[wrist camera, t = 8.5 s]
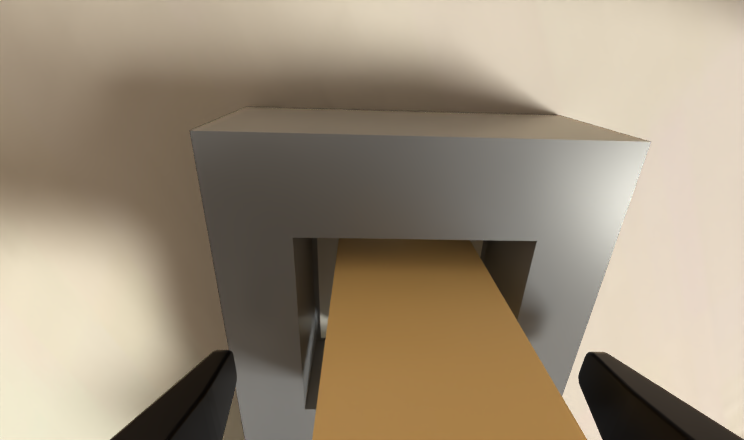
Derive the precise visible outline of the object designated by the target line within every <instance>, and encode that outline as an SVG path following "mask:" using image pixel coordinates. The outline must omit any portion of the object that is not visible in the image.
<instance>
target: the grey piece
mask: <svg viewBox="0 0 744 440" xmlns="http://www.w3.org/2000/svg"><path fill="white" fill-rule="evenodd" d="M190 135H191V141H192V146H193V152H194V158H195V163H196V169H197V174H198V180H199V185H200V191H201V197H202V202H203V208H204V213H205V219H206V225H207V230H208V236H209V241H210V247H211V252H212V258H213V264H214V269H215V275H216V280H217V286H218V292H219V297H220V303H221V308H222V314H223V319H224V325H225V331H226V336H227V342H228V347H229V350H230V351H232V352H233V355H234V360H235V366H236V372H237V382H236V392H237V398H238V403H239V409H240V414H241V420H242V426H243V431H244V437H245V440H312V437H313V430H314V422H315V415H316V407H317V400H318V392H319V384H320V377H321V369H322V362H323V354H324V347H325V339H326V332H327V324H328V316H329V309H330V301H331V294H332V286H333V279H334V271H335V264H336V256H337V249H338V241H339V238H360V239H428V240H470V241H471V243H472V245H473V246H474V248H475V250H476V251H477V253H478V255H479V257H480V258H481V260H482V262H483V263H484V265H485V267H486V268H487V270H488V272H489V274H490V275H491V277H492V279H493V280H494V282H495V284H496V285H497V287H498V289H499V291H500V292H501V294H502V296H503V297H504V299H505V301H506V302H507V304H508V306H509V308H510V309H511V311H512V313H513V314H514V316H515V318H516V319H517V321H518V323H519V325H520V326H521V328H522V330H523V331H524V333H525V335H526V337H527V338H528V340H529V342H530V343H531V345H532V347H533V348H534V350H535V352H536V354H537V355H538V357H539V359H540V360H541V362H542V364H543V365H544V367H545V369H546V371H547V372H548V374H549V376H550V377H551V379H552V381H553V382H554V384H555V386H556V388H557V389H558V391H559V393H560V394H561V396H562V395H563V392H564V389H565V386H566V383H567V381H568V378H569V375H570V372H571V369H572V366H573V363H574V361H575V358H576V355H577V352H578V349H579V346H580V343H581V341H582V338H583V335H584V332H585V329H586V326H587V324H588V321H589V318H590V315H591V312H592V309H593V306H594V304H595V301H596V298H597V295H598V292H599V289H600V286H601V284H602V281H603V278H604V275H605V272H606V269H607V266H608V264H609V261H610V258H611V255H612V252H613V249H614V246H615V244H616V241H617V238H618V235H619V232H620V229H621V226H622V224H623V221H624V218H625V215H626V212H627V209H628V206H629V204H630V201H631V198H632V195H633V192H634V189H635V186H636V184H637V181H638V178H639V175H640V172H641V169H642V167H643V164H644V161H645V158H646V155H647V152H648V149H649V147H650V144H651V142H650V141H647V140H643V139H640V138H636V137H633V136H630V135H626V134H623V133H619V132H616V131H612V130H609V129H605V128H602V127H599V126H595V125H592V124H588V123H585V122H581V121H578V120H575V119H571V118H568V117H564V116H561V115H532V114H495V113H457V112H420V111H382V110H345V109H307V108H270V107H245V108H242V109H240V110H237V111H235V112H233V113H230V114H228V115H226V116H223V117H221V118H218V119H216V120H214V121H211V122H209V123H206V124H204V125H202V126H199V127H197V128H195V129H192V130H190Z"/></svg>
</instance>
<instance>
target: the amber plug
mask: <svg viewBox="0 0 744 440" xmlns="http://www.w3.org/2000/svg"><path fill="white" fill-rule="evenodd" d="M312 440H587V439H586V437H585V435H584V434H583V432H582V430H581V428H580V427H579V425H578V423H577V422H576V420H575V418H574V417H573V415H572V413H571V411H570V410H569V408H568V406H567V405H566V403H565V401H564V399H563V398H562V396H561V394H560V393H559V391H558V389H557V388H556V386H555V384H554V382H553V381H552V379H551V377H550V376H549V374H548V372H547V371H546V369H545V367H544V365H543V364H542V362H541V360H540V359H539V357H538V355H537V354H536V352H535V350H534V348H533V347H532V345H531V343H530V342H529V340H528V338H527V337H526V335H525V333H524V331H523V330H522V328H521V326H520V325H519V323H518V321H517V319H516V318H515V316H514V314H513V313H512V311H511V309H510V308H509V306H508V304H507V302H506V301H505V299H504V297H503V296H502V294H501V292H500V291H499V289H498V287H497V285H496V284H495V282H494V280H493V279H492V277H491V275H490V274H489V272H488V270H487V268H486V267H485V265H484V263H483V262H482V260H481V258H480V257H479V255H478V253H477V251H476V250H475V248H474V246H473V245H472V243H471V241H470V240H428V239H360V238H339V241H338V249H337V256H336V264H335V271H334V279H333V286H332V294H331V301H330V309H329V316H328V324H327V332H326V339H325V347H324V354H323V362H322V369H321V377H320V384H319V392H318V400H317V407H316V415H315V422H314V430H313V437H312Z"/></svg>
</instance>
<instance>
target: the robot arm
mask: <svg viewBox="0 0 744 440" xmlns="http://www.w3.org/2000/svg"><path fill="white" fill-rule="evenodd" d="M578 379H579V384H580V387H581V389H582V392H583V394H584V397H585V399H586V401H587V404H588V406H589V409H590V411H591V413H592V416H593V418H594V421H595V423H596V425H597V428H598V430H599V433H600V435H601V437H602V439H603V440H744V439H742V438H741V437H739V436H737V435H736V434H734V433H733V432H731V431H729V430H728V429H726V428H725V427H723V426H722V425H720V424H718V423H717V422H715V421H714V420H712V419H710V418H709V417H707V416H706V415H704V414H703V413H701V412H699V411H698V410H696V409H695V408H693V407H691V406H690V405H688V404H687V403H685V402H684V401H682V400H680V399H679V398H677V397H676V396H674V395H672V394H671V393H669V392H668V391H666V390H665V389H663V388H661V387H660V386H658V385H657V384H655V383H654V382H652V381H650V380H649V379H647V378H646V377H644V376H642V375H641V374H639V373H638V372H636V371H635V370H633V369H631V368H630V367H628V366H627V365H625V364H623V363H622V362H620V361H619V360H617V359H616V358H614V357H612V356H611V355H609V354H607V353H605V352H588V353H587V354H586V356H585V358H584V361H583V364H582V367H581V369H580V372H579V377H578ZM236 382H237V372H236V366H235V360H234V355H233V352H232V351H230V350H216V351H214V352H212V353H211V354H210V355H209V356H208V357H206V358H205V359H204V360H203V361H202V362H200V363H199V364H198V365H197V366H196V367H195V368H193V369H192V370H191V371H190V372H189V373H188V374H186V375H185V376H184V377H183V378H182V379H181V380H179V381H178V382H177V383H176V384H175V385H173V386H172V387H171V388H170V389H169V390H168V391H166V392H165V393H164V394H163V395H162V396H161V397H159V398H158V399H157V400H156V401H155V402H154V403H152V404H151V405H150V406H149V407H148V408H147V409H145V410H144V411H143V412H142V413H141V414H139V415H138V416H137V417H136V418H135V419H134V420H132V421H131V422H130V423H129V424H128V425H127V426H125V427H124V428H123V429H122V430H121V431H120V432H118V433H117V434H116V435H115V436H114V437H113V438H111V439H110V440H222V438H223V434H224V430H225V426H226V422H227V418H228V414H229V410H230V406H231V403H232V399H233V395H234V391H235V387H236Z"/></svg>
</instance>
